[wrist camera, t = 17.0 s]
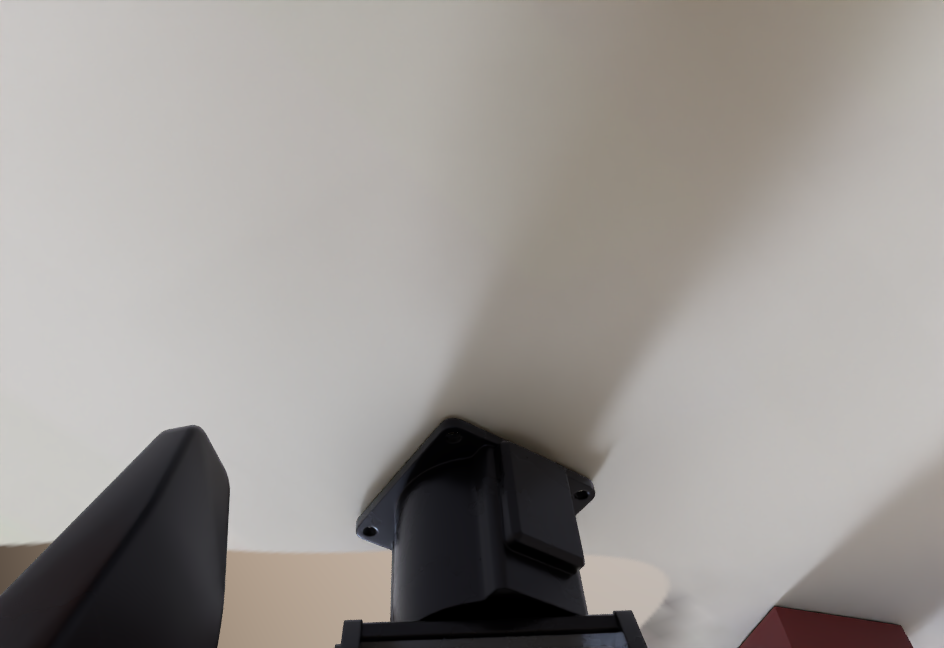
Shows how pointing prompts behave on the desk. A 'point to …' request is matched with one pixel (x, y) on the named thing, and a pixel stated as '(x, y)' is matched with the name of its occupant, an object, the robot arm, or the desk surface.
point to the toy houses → (823, 632)
